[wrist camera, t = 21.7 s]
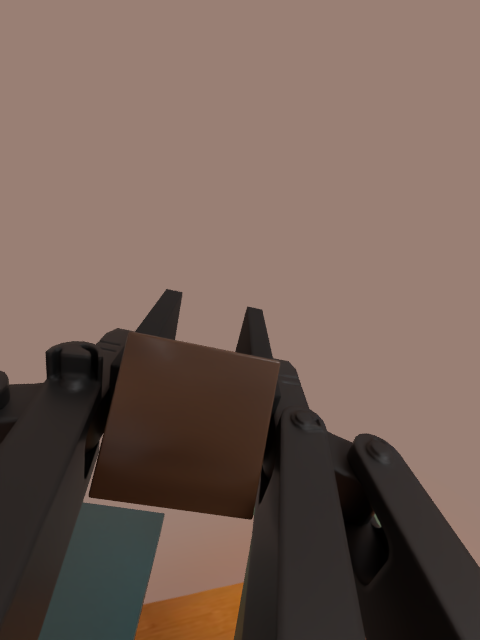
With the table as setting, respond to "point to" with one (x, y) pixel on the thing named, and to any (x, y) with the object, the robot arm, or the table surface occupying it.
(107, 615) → the low stand
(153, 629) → the table surface
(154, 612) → the table surface
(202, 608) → the table surface
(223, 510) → the rectangular bar
